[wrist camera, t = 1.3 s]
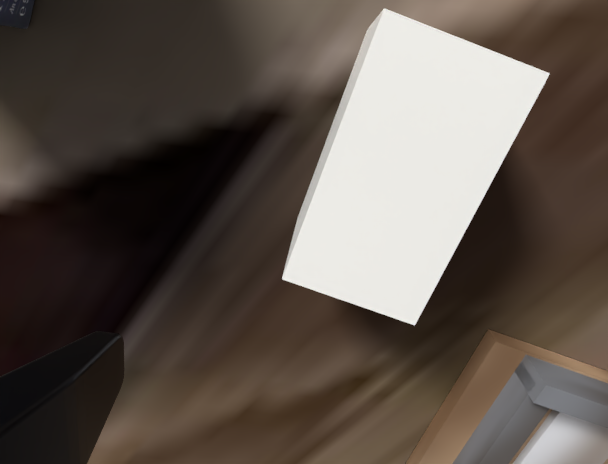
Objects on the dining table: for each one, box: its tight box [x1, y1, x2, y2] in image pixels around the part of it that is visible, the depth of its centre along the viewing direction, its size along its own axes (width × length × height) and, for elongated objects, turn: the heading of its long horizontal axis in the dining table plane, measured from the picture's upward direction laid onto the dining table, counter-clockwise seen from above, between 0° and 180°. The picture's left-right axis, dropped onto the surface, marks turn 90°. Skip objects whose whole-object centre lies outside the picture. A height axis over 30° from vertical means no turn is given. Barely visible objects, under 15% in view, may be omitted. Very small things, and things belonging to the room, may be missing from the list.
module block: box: [282, 8, 550, 325], centre depth 15 cm, size 4×8×6 cm, turn 160°
